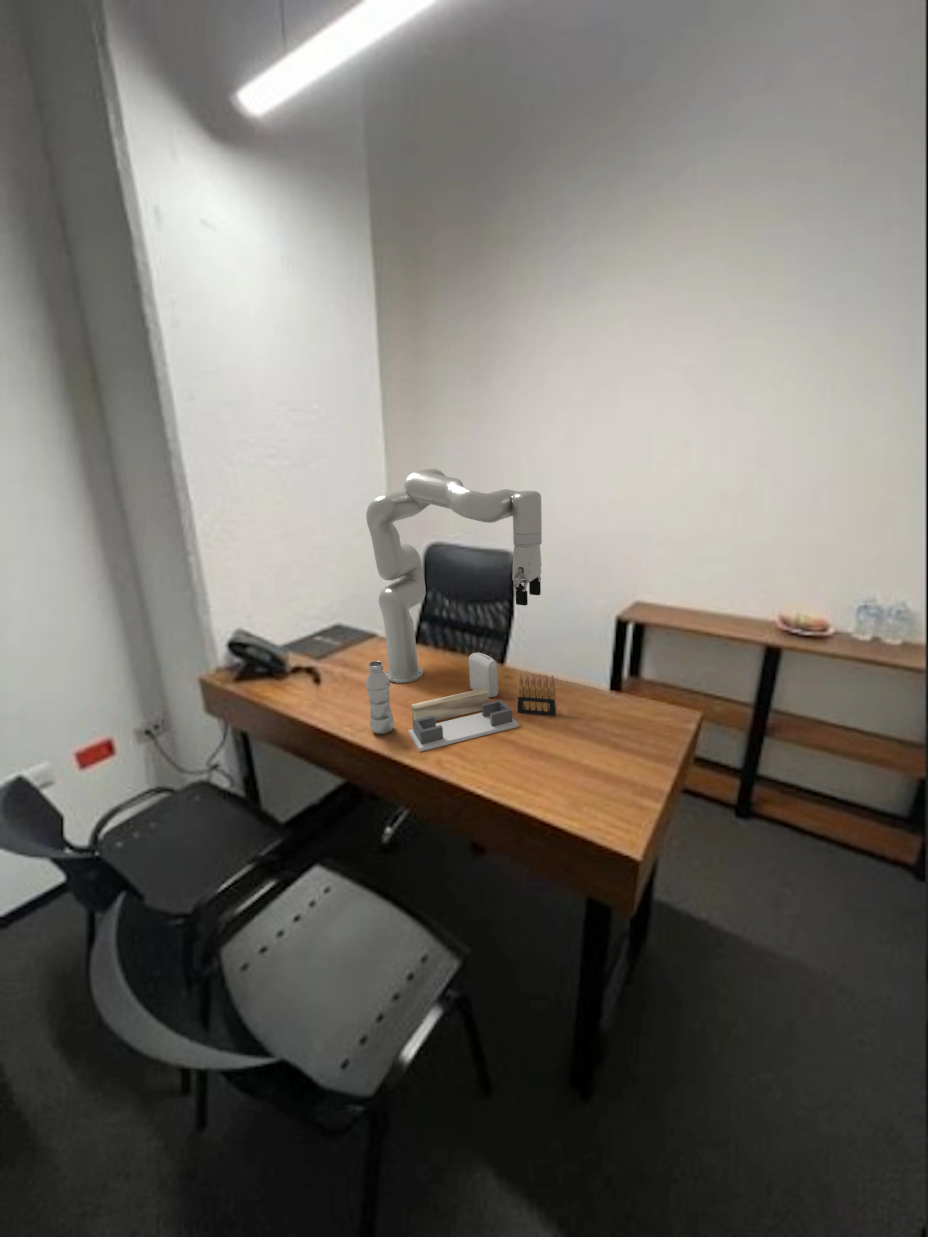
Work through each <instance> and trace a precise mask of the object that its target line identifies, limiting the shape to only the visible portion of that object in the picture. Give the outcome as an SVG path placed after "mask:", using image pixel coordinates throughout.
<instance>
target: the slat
mask: <svg viewBox="0 0 928 1237" xmlns="http://www.w3.org/2000/svg"><path fill="white" fill-rule="evenodd" d="M489 700H490V699H489V697H488V691H487V690H486V689H485V688H482V689H477V690H469V691H468V690H467V691H465V692H459V693H457V694H456V693H455V694H452V695H448V696H447V695H446V696H443V697H438V698H433V699H430V700H426V701H424V700H423V701H421V702H420V701H419V702H416V703H412V704H411V712H412V720H416V719H420V718H424V717H429V716H433V715H434V716H435V721H436V722H439V721H442V720H447V719H450V718H454V717H456V718H457V717H460V716H462V715H463V716H465V715H467V714H471V713H476V712H480V711H481V712H482V704H484V703H488V702H490V701H489Z"/></svg>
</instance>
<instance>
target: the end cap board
mask: <svg viewBox="0 0 928 1237" xmlns="http://www.w3.org/2000/svg"><path fill="white" fill-rule="evenodd" d="M436 722H437V721H435V716H434V715H433V716H429V717H424V718H420V719H416V720H413V719H412V729H408V734H409V737H410V738H411V740H412V742H413V743H414V745H415V747H416V748H417V750H418V752H425V751H428V750H432V749H436V748H440V747H443V746H447V745H451V744H455V743H459V742H463V741H467V740H471V739H475V738H476V739H477V738H479V737H482V736H488V735H490V734H491V735H492V734H494V733H499V732H502V731H506V730H511V729H514V728H518V727H519V723H518V721H517V720H516V719H515V718H514V717H513V710H512V709H511V707H510V706H509V705H508V704H507V703H506V702H505V701H503V699H497V700H493V701H489V702H488V703H484V704H482V710H481V712H478V713H474V714H470V715H466V716H465V715H464V716H461V717H456V718H453V719H450V720H444V721H440V722H437V723H436Z"/></svg>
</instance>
